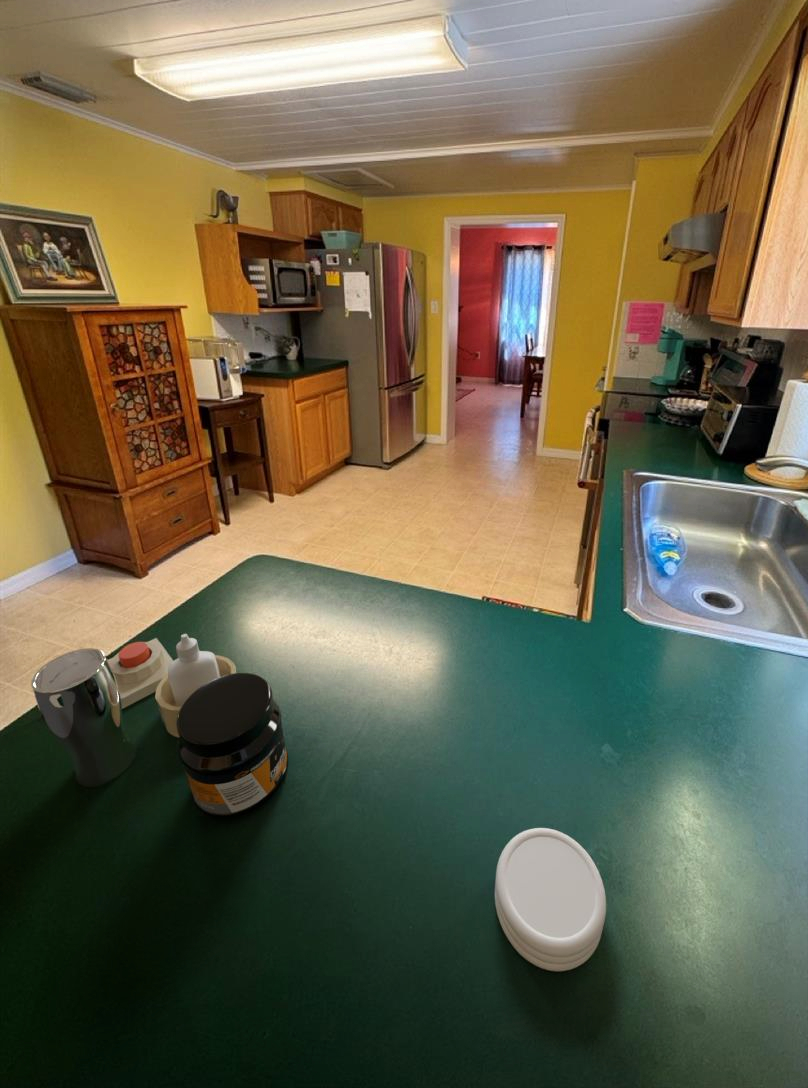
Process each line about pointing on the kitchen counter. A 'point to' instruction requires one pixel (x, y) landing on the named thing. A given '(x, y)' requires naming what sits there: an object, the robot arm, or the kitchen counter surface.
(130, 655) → the button
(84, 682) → the silver rounded piece
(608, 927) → the kitchen counter surface
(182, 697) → the eye dropper bottle
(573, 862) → the coaster
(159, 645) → the button base
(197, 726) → the supplement container
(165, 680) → the holder
